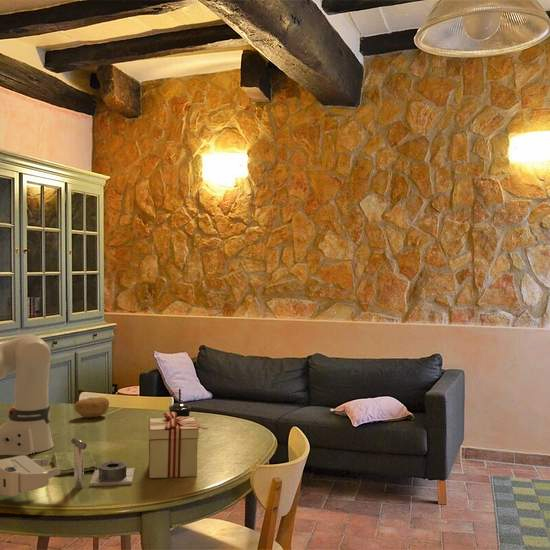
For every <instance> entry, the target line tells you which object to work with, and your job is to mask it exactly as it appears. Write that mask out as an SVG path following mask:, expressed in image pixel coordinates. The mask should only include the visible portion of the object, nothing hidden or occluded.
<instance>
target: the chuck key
mask: <svg viewBox="0 0 550 550" xmlns="http://www.w3.org/2000/svg"><path fill="white" fill-rule="evenodd" d="M70 442H71V444H73V445H74V446H73V452H74V473H73V475H74V477H73V478H74V480H73V481H74V483H73V485H74V487H73V488H74V489H76V488H77V490H79V489H83V488H84V484H85V483H84V482H85V481H84V480H85V475H84V474H85V473H84V472H85V471H84V451H85V449H86V448H87V443H86V442H84V441H82V440H80V439H79V438H77V437H73V438H71V440H70Z"/></svg>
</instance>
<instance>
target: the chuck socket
mask: <svg viewBox="0 0 550 550" xmlns="http://www.w3.org/2000/svg"><path fill="white" fill-rule="evenodd" d="M135 469H136V468H135V467H128V464H127V463H126V462H124V461H119V460H113V461H111V460H110V461H106V462H103V463H99V465H98V470H93V471H94V472H93V474H92V476H91V478H90V482H89V487H107V486H108V487H109V486H126V485H127V486H128V485H130V486H131V485H133V480H134V477H135V476H134V475H135Z"/></svg>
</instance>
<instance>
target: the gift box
mask: <svg viewBox="0 0 550 550" xmlns="http://www.w3.org/2000/svg"><path fill="white" fill-rule="evenodd" d="M163 415H164V417H163V418H162V417H160V418H159V417H157V418H148V465H147V469H148V472H149V479H165V478H186V477H198V440H199V434H200V433H199V429H203V430H208V429H209V428H208V427H204V426H203V425H200V424H199V423H197V421H196V418H195V417H194V415H189V416H188V417H181V416H179V417H177V413H176V412H170V411H168V412H163Z"/></svg>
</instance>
